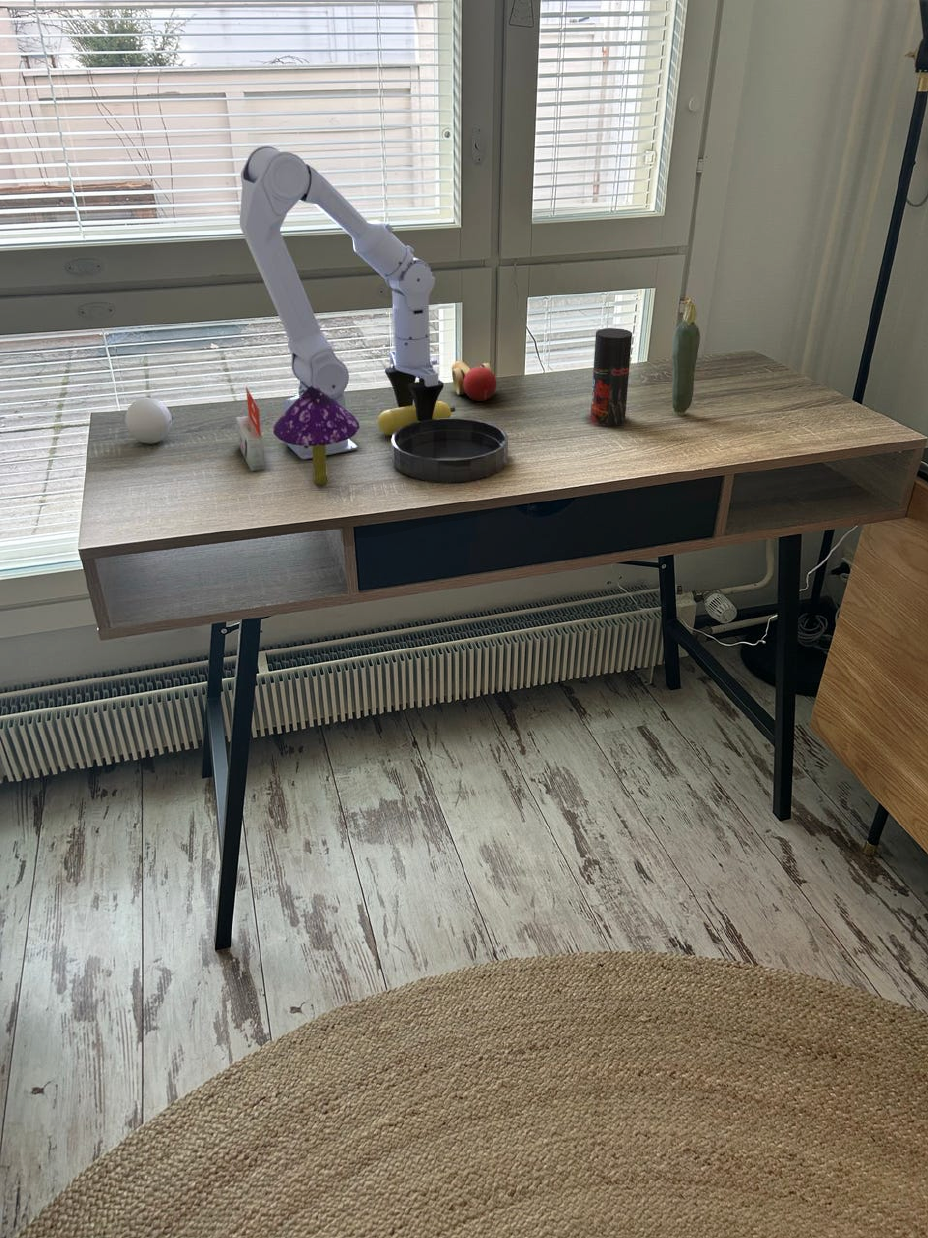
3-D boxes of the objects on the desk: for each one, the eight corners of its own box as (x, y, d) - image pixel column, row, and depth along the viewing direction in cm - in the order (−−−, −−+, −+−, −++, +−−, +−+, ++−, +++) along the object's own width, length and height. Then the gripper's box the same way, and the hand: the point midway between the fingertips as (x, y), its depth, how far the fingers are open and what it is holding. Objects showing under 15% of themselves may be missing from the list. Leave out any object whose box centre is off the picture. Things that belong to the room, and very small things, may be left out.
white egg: (174, 448, 155) (166, 404, 151) (127, 451, 154) (118, 407, 150) (179, 427, 164) (172, 385, 160) (134, 429, 163) (126, 387, 159)
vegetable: (692, 420, 165) (706, 301, 154) (667, 420, 165) (680, 301, 154) (687, 411, 168) (701, 294, 158) (663, 411, 168) (675, 294, 158)
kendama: (436, 384, 186) (460, 401, 170) (440, 351, 184) (465, 365, 168) (474, 388, 188) (501, 405, 172) (478, 355, 186) (506, 369, 170)
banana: (384, 440, 158) (383, 416, 155) (374, 432, 161) (373, 408, 159) (460, 426, 163) (460, 402, 161) (449, 418, 166) (448, 395, 164)
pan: (423, 492, 140) (422, 468, 138) (374, 452, 153) (373, 429, 151) (528, 469, 147) (529, 446, 145) (473, 432, 160) (473, 410, 158)
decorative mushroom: (304, 509, 135) (293, 407, 127) (265, 481, 144) (252, 383, 136) (379, 488, 141) (373, 388, 134) (337, 461, 150) (329, 367, 142)
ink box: (251, 472, 147) (243, 411, 142) (239, 446, 156) (231, 388, 151) (267, 469, 147) (259, 409, 142) (254, 444, 156) (246, 386, 151)
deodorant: (631, 423, 163) (639, 335, 156) (600, 428, 162) (606, 339, 154) (614, 412, 168) (620, 326, 160) (584, 417, 166) (589, 330, 158)
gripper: (454, 342, 149) (456, 425, 157) (415, 321, 160) (418, 399, 168) (413, 348, 147) (417, 433, 154) (376, 326, 158) (381, 406, 165)
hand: (415, 416), depth 161 cm, fingers open, 7 cm apart
